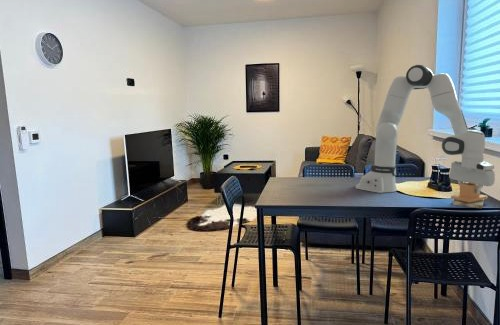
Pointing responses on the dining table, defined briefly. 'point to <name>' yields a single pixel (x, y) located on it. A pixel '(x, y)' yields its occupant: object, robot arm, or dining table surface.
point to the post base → (471, 204)
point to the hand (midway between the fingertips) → (469, 191)
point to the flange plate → (468, 193)
